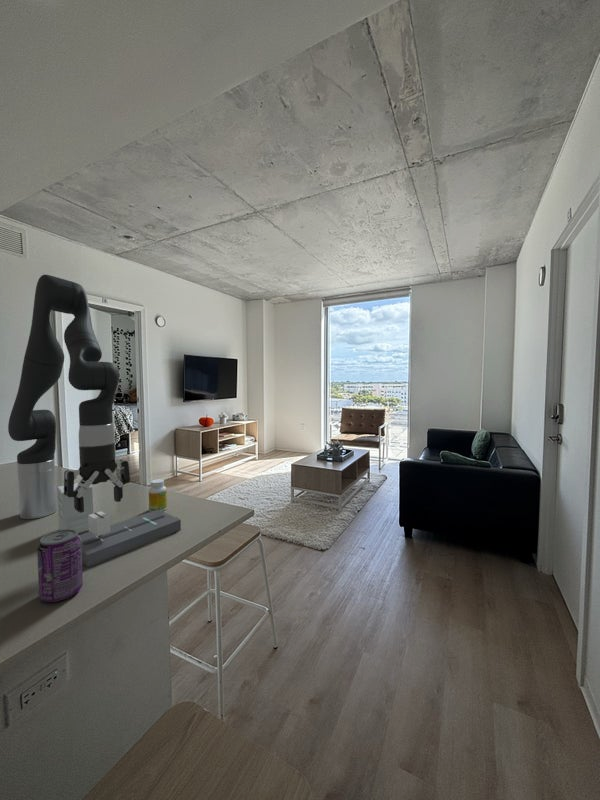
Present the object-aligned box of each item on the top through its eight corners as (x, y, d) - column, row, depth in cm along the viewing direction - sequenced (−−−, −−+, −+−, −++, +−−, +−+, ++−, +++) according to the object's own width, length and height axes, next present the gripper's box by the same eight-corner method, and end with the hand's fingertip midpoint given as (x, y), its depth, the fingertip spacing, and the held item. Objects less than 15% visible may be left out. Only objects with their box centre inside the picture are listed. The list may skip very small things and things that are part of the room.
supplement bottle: (160, 513, 106) (159, 484, 105) (145, 512, 107) (144, 482, 106) (170, 507, 111) (169, 479, 111) (155, 505, 112) (155, 478, 112)
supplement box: (88, 521, 100) (86, 480, 99) (94, 529, 94) (93, 486, 94) (58, 529, 95) (56, 486, 94) (63, 538, 89) (61, 492, 89)
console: (68, 551, 83) (67, 539, 82) (158, 519, 102) (157, 509, 102) (87, 567, 75) (87, 554, 75) (180, 529, 95) (180, 519, 94)
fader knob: (88, 536, 83) (88, 514, 83) (101, 531, 85) (101, 510, 85) (97, 542, 80) (96, 519, 80) (110, 537, 83) (109, 515, 82)
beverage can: (54, 583, 69) (52, 528, 69) (89, 582, 70) (88, 527, 69) (30, 606, 62) (27, 545, 62) (69, 604, 63) (67, 544, 62)
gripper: (119, 436, 89) (121, 495, 90) (57, 445, 78) (60, 512, 79) (133, 439, 85) (135, 501, 86) (69, 448, 73) (72, 519, 74)
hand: (99, 506), depth 82 cm, fingers open, 8 cm apart
